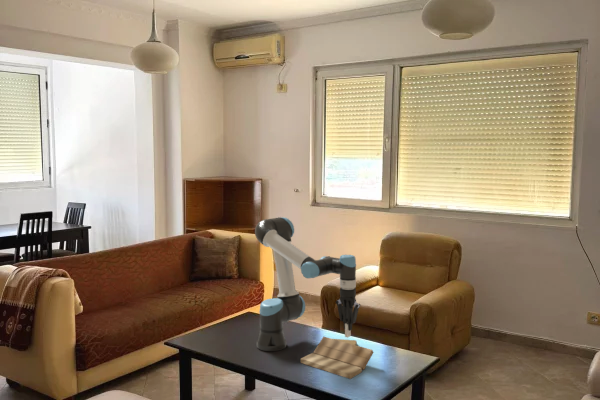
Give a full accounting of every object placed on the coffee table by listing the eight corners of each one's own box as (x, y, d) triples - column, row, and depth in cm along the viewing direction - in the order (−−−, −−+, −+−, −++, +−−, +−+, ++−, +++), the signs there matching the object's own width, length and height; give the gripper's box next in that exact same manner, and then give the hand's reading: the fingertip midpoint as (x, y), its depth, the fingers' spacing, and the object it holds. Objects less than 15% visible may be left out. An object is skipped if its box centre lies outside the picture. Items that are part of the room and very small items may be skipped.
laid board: (300, 362, 246) (300, 358, 246) (312, 356, 254) (312, 352, 254) (350, 378, 229) (350, 374, 229) (362, 371, 236) (362, 367, 236)
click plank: (314, 355, 255) (313, 352, 254) (324, 339, 261) (323, 336, 260) (363, 370, 237) (362, 367, 236) (373, 352, 243) (372, 349, 242)
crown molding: (354, 355, 257) (354, 348, 257) (324, 353, 260) (324, 346, 260) (356, 345, 271) (356, 338, 271) (328, 343, 274) (328, 336, 274)
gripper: (332, 287, 250) (332, 335, 252) (355, 291, 242) (355, 341, 244) (341, 284, 256) (341, 331, 258) (363, 288, 247) (363, 337, 249)
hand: (347, 336), depth 251 cm, fingers closed
